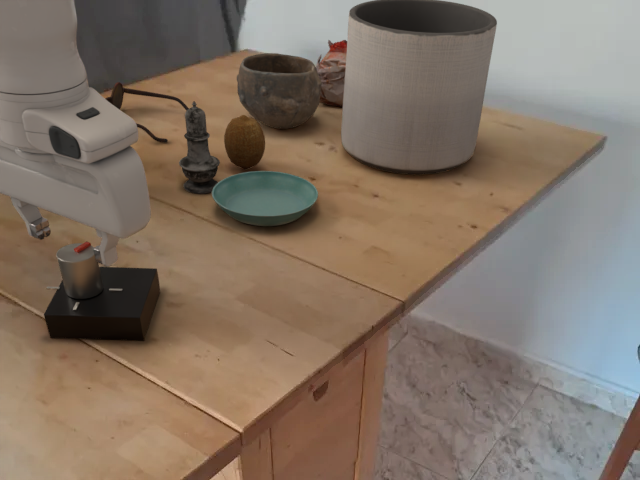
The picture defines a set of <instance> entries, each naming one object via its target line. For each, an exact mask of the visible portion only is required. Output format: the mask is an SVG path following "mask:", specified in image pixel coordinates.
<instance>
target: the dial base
mask: <svg viewBox="0 0 640 480" xmlns="http://www.w3.org/2000/svg"><path fill="white" fill-rule="evenodd" d="M99 268H100V273H101V278H102V283H103V290H102V292H101V293H100V294H98V295H96V296H94V297H91V298H87V299H75V298H72V297H69V296H68V295H67V294H66V292H65V288H64V284H63V280H61V281H60V283H59V285H58V286H46V288H45V289H46V290H53V291H54V290H55V292H54V294H53V296H52V298H51V300H50V301H49V304H48V306H47V307H46V308H45V309H46V310H45V311H44V313H43V318H44V321H45V325H46V328H47V331H48V335H49V338H50V339H69V340H72V339H73V340H74V339H75V340H99V341H100V340H105V341H134V342H136V341H137V342H138V341H139V342H144V341H145V339H146V335H147V333H148V329H149V326H150V323H151V321H152V317H153V314H154V311H155V308H156V305H157V302H158V299H159V295H160V293H161V287H160V279H159V274H158V273H159V272H158V268H155V267H154V268H151V267H123V266H122V267H121V266H119V267H118V266H99Z"/></svg>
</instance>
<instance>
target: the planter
mask: <svg viewBox="0 0 640 480" xmlns="http://www.w3.org/2000/svg"><path fill="white" fill-rule="evenodd" d="M347 21H348V22H347V23H348V24H347V39H346V41H347V54H346V69H345V84H344V98H343V107H342V113H341V114H342V115H341V128H340V129H341V131H340V133H341V134H340V139H341V145H342V147H343V148H344V150H345V151H346V152H347V153H348V154H349V156H351V157H352V158H354V159H355V160H356V161H358V162H359V163H361V164H363V165H365V166H367V167H370V168H372V169H375V170H379V171H383V172H388V173H393V174H401V175H410V176H411V175H413V176H416V175H417V176H418V175H419V176H420V175H434V174H440V173H445V172H448V171H451V170H454V169H455V168H458V167H460V166H461V165H463V164H465V163H466V162H468V161H469V160H470V159H471V158H472V157H473V155H474V154H475V150H476V145H477V141H478V135H479V130H480V124H481V118H482V112H483V107H484V100H485V94H486V87H487V81H488V75H489V71H490V65H491V59H492V54H493V47H494V42H495V37H496V31H497V27H498V20H497V19H496V17H495V16H494V15H493V14H491V13H490V12H488V11H485V10H483V9H481V8H478V7H476V6H475V7H474V6H472V5H468V4H463V3H458V2H454V1H453V2H452V1H447V0H370V1H365V2H362V3H361V2H360V3H359V4H358V3H357V4H356V5H354V6H353V7H351V8H350V9H349V11H348V20H347Z"/></svg>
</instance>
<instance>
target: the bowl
mask: <svg viewBox="0 0 640 480" xmlns="http://www.w3.org/2000/svg"><path fill="white" fill-rule="evenodd" d="M236 82H237V95H238V99H239V102H240V104H241V105H242V106H243V108H244V109H245V110H246V111H247V112H248V114H249V115H250V117H251V118H254V119H255V120H257V122H260V123H262V124H263V125H266V126H267V127H271V128H274V129H281V130H284V129H285V130H286V129H291V128H295V127H298V126H301V125H303V124H305V123H306V122H307V121H308V120H309V119H310V118H311V117H313V115H314V114H315V113H316V111H317V109H318V107H319V105H320V94H321V86H322V81H321V80H320V78H319V76H318V73H317V70H316V65H315V64H314V62H313V61H311V60H310V59H308V58H305V57H302V56H297V55H291V54H283V53H277V52H265V53H257V54H253V55H249V56H246V57H245V58H243V60H242V61H241V63H240V64H239V68H238V74H236Z"/></svg>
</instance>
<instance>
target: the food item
mask: <svg viewBox="0 0 640 480" xmlns="http://www.w3.org/2000/svg"><path fill="white" fill-rule="evenodd" d="M327 44H328V47H329V49H328V51H327V52H326V53H325V55H324V56H323V58H322V54H320V55H319V57H318V58H317V62H316V65H315V67H316V70H317V73H318V76H319V78H320V80H321V81H322V86H321V94H320V101H319V103H321V104H325V105H329V106H334V107H339V108H343V98H344V84H345V69H346V54H347V39H342V40H340V41H337V42H332V41H331V40H330V39H328V40H327Z"/></svg>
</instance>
